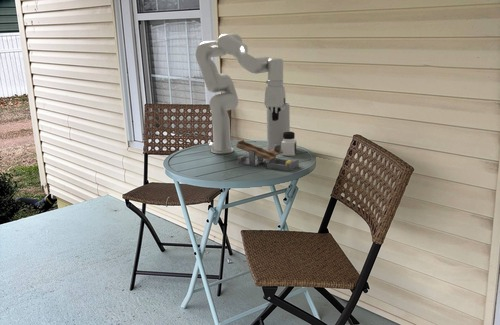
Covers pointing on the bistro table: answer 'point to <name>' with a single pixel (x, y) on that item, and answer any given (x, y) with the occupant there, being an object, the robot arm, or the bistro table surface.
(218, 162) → the bistro table surface
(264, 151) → the lever
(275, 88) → the robot arm
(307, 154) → the bistro table surface
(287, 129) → the cylinder vase
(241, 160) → the stand
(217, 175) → the bistro table surface
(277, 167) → the tray
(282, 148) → the medicine bottle
